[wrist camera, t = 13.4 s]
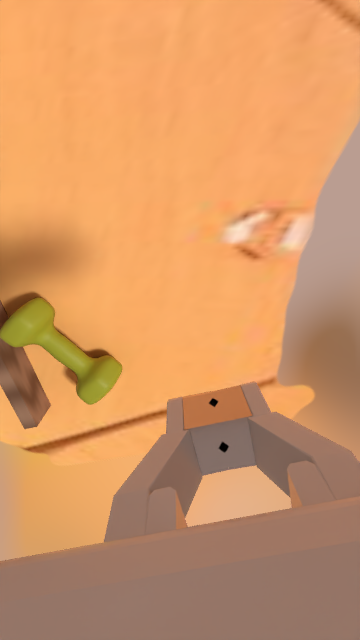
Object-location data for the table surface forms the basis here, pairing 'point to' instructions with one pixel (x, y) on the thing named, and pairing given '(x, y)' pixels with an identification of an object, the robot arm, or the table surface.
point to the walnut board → (21, 382)
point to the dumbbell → (61, 349)
